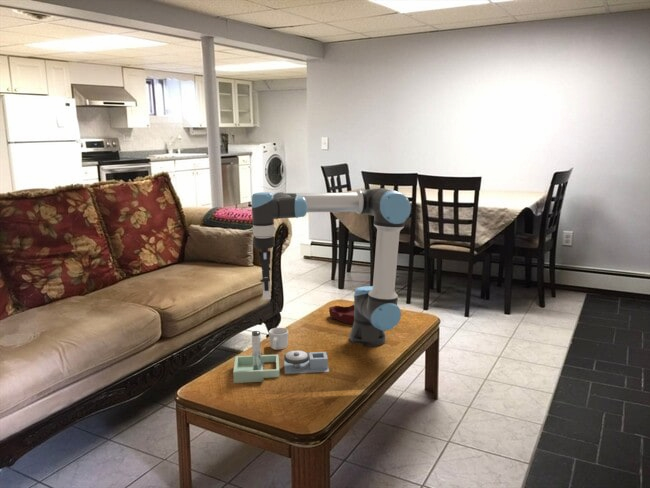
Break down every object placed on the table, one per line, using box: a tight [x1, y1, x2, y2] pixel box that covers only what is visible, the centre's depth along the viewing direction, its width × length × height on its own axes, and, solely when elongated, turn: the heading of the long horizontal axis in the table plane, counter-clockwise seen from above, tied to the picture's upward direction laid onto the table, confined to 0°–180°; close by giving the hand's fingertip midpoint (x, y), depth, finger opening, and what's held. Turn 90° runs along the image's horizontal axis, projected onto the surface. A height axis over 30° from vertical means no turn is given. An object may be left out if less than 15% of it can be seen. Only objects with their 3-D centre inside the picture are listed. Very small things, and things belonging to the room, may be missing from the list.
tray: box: [232, 354, 280, 384], centre depth 196 cm, size 16×14×4 cm
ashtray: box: [328, 304, 354, 326], centre depth 253 cm, size 18×16×5 cm
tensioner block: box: [283, 350, 330, 375], centre depth 199 cm, size 16×11×7 cm
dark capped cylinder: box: [251, 330, 262, 370], centre depth 195 cm, size 3×3×15 cm
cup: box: [268, 327, 289, 350], centre depth 216 cm, size 11×8×8 cm
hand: (266, 293), depth 196 cm, fingers open, 13 cm apart
